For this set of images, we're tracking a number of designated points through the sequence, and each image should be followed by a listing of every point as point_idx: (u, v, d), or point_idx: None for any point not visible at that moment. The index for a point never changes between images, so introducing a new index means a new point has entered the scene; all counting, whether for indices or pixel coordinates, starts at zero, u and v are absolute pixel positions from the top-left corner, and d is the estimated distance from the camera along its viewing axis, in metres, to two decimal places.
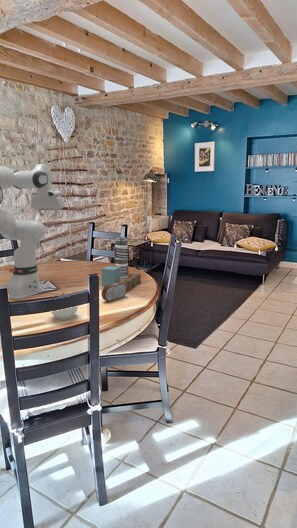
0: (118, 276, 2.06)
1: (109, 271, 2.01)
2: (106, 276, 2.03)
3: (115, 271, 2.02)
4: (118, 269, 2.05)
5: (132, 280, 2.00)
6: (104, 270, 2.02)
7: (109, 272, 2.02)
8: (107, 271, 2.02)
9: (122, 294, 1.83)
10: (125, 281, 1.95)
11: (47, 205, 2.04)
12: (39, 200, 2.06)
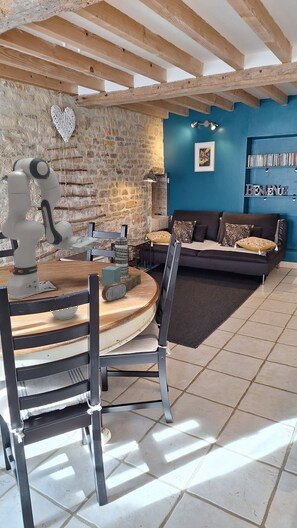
0: (118, 276, 2.06)
1: (109, 271, 2.01)
2: (106, 276, 2.03)
3: (115, 271, 2.02)
4: (118, 269, 2.05)
5: (132, 280, 2.00)
6: (104, 270, 2.02)
7: (109, 272, 2.02)
8: (107, 271, 2.02)
9: (122, 294, 1.83)
10: (125, 281, 1.95)
11: (87, 241, 2.09)
12: (79, 244, 2.06)
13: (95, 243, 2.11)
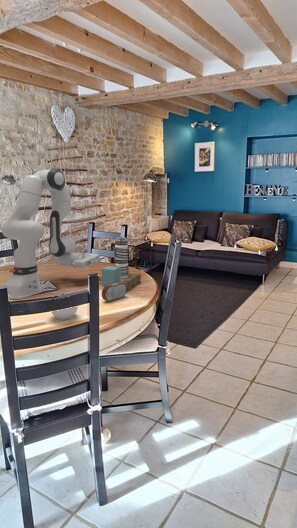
0: (118, 276, 2.06)
1: (109, 271, 2.01)
2: (106, 276, 2.03)
3: (115, 271, 2.02)
4: (118, 269, 2.05)
5: (132, 280, 2.00)
6: (104, 270, 2.02)
7: (109, 272, 2.02)
8: (107, 271, 2.02)
9: (122, 294, 1.83)
10: (125, 281, 1.95)
11: (89, 257, 2.11)
12: (81, 259, 2.07)
13: None
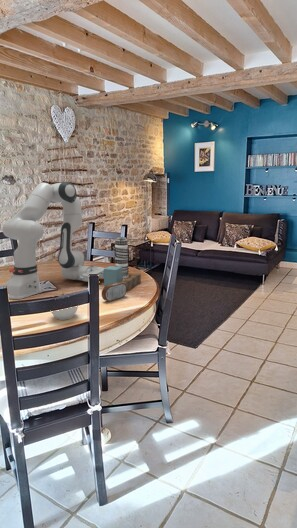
0: (120, 276, 2.06)
1: (111, 271, 2.01)
2: (108, 276, 2.02)
3: (117, 271, 2.01)
4: (120, 269, 2.05)
5: (132, 280, 2.00)
6: (106, 270, 2.02)
7: (111, 272, 2.01)
8: (109, 271, 2.01)
9: (122, 294, 1.83)
10: (125, 281, 1.95)
11: (97, 271, 2.11)
12: (89, 273, 2.07)
13: None
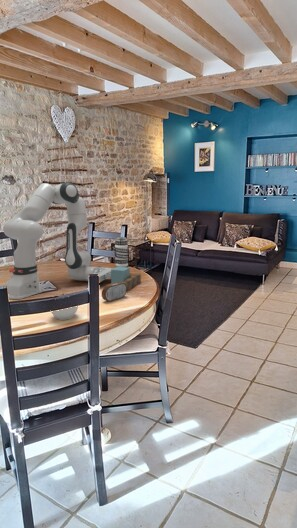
0: (127, 277, 2.04)
1: (119, 272, 1.99)
2: (116, 277, 2.01)
3: (125, 272, 2.00)
4: (128, 270, 2.03)
5: (132, 280, 2.00)
6: (114, 271, 2.00)
7: (119, 273, 1.99)
8: (117, 272, 2.00)
9: (122, 294, 1.83)
10: (125, 281, 1.95)
11: (104, 271, 2.09)
12: (96, 273, 2.05)
13: (108, 275, 2.08)
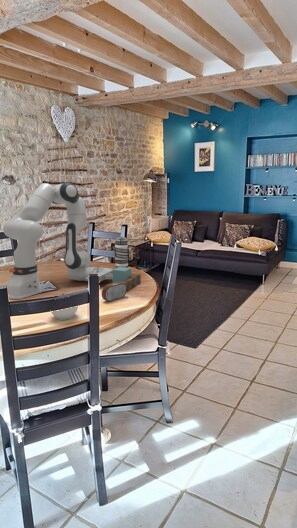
0: None
1: (120, 272, 1.99)
2: (117, 277, 2.00)
3: (126, 272, 1.99)
4: (129, 270, 2.03)
5: (132, 280, 2.00)
6: (115, 271, 2.00)
7: (120, 273, 1.99)
8: (118, 272, 1.99)
9: (122, 294, 1.83)
10: (125, 281, 1.95)
11: (103, 272, 2.09)
12: None
13: None
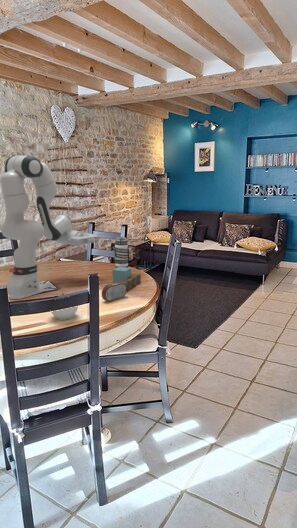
0: None
1: (120, 272, 1.99)
2: (117, 277, 2.00)
3: (126, 272, 1.99)
4: (129, 270, 2.03)
5: (132, 280, 2.00)
6: (115, 271, 2.00)
7: (120, 273, 1.99)
8: (118, 272, 1.99)
9: (122, 294, 1.83)
10: (125, 281, 1.95)
11: (87, 236, 2.07)
12: (78, 237, 2.04)
13: None
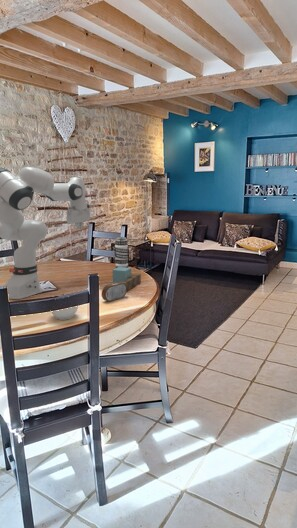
0: None
1: (120, 272, 1.99)
2: (117, 277, 2.00)
3: (126, 272, 1.99)
4: (129, 270, 2.03)
5: (132, 280, 2.00)
6: (115, 271, 2.00)
7: (120, 273, 1.99)
8: (118, 272, 1.99)
9: (122, 294, 1.83)
10: (125, 281, 1.95)
11: (82, 218, 2.06)
12: (77, 214, 2.01)
13: (79, 222, 2.08)
